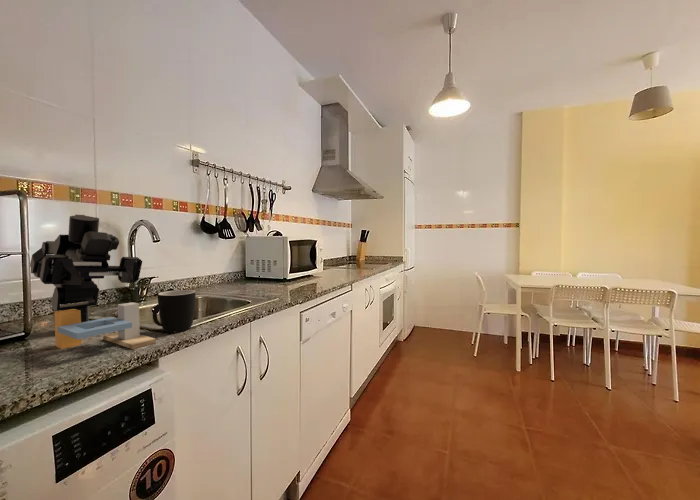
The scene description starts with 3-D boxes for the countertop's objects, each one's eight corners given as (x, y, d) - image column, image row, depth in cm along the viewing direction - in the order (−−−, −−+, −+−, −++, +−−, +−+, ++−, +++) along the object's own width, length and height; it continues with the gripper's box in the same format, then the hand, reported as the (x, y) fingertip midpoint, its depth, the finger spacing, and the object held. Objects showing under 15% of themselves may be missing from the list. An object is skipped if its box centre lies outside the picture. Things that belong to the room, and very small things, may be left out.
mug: (177, 324, 91) (176, 289, 91) (203, 326, 89) (202, 290, 89) (139, 336, 80) (139, 296, 80) (168, 338, 78) (167, 298, 77)
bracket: (58, 347, 68) (57, 311, 68) (126, 332, 80) (125, 301, 79) (77, 356, 63) (76, 316, 63) (147, 338, 75) (146, 305, 74)
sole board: (103, 339, 77) (103, 335, 77) (126, 334, 82) (126, 330, 82) (132, 349, 70) (132, 344, 70) (155, 342, 74) (155, 338, 74)
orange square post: (55, 346, 72) (54, 311, 72) (75, 341, 75) (74, 308, 75) (61, 348, 71) (60, 313, 70) (81, 344, 74) (80, 310, 73)
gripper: (40, 224, 70) (59, 245, 62) (133, 232, 86) (159, 250, 78) (32, 271, 72) (50, 297, 64) (125, 270, 87) (150, 292, 79)
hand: (108, 281), depth 71 cm, fingers open, 9 cm apart
